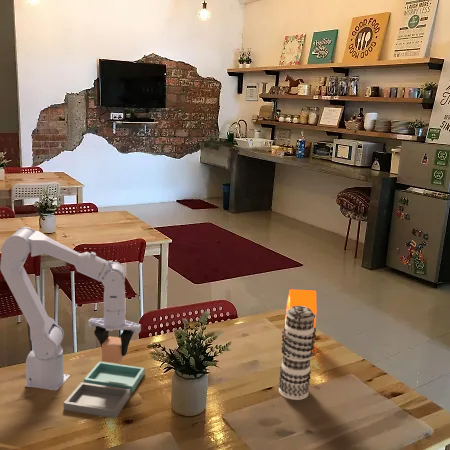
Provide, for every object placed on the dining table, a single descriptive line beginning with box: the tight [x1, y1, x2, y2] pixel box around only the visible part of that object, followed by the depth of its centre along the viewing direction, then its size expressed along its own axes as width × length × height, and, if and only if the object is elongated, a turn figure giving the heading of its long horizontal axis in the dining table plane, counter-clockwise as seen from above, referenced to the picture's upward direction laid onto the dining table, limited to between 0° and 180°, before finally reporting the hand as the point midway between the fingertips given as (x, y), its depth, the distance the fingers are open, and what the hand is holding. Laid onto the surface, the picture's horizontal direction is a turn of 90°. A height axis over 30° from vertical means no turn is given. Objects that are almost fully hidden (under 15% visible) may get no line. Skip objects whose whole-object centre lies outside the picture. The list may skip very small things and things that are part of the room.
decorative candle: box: [278, 306, 317, 401], centre depth 139 cm, size 9×9×25 cm
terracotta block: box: [101, 335, 126, 364], centre depth 140 cm, size 5×5×5 cm
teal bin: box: [83, 361, 146, 394], centre depth 142 cm, size 14×10×2 cm
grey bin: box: [63, 381, 131, 419], centre depth 131 cm, size 14×10×2 cm
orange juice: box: [284, 289, 318, 353], centre depth 166 cm, size 8×9×20 cm
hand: (114, 352), depth 140 cm, fingers closed on terracotta block, 5 cm apart
